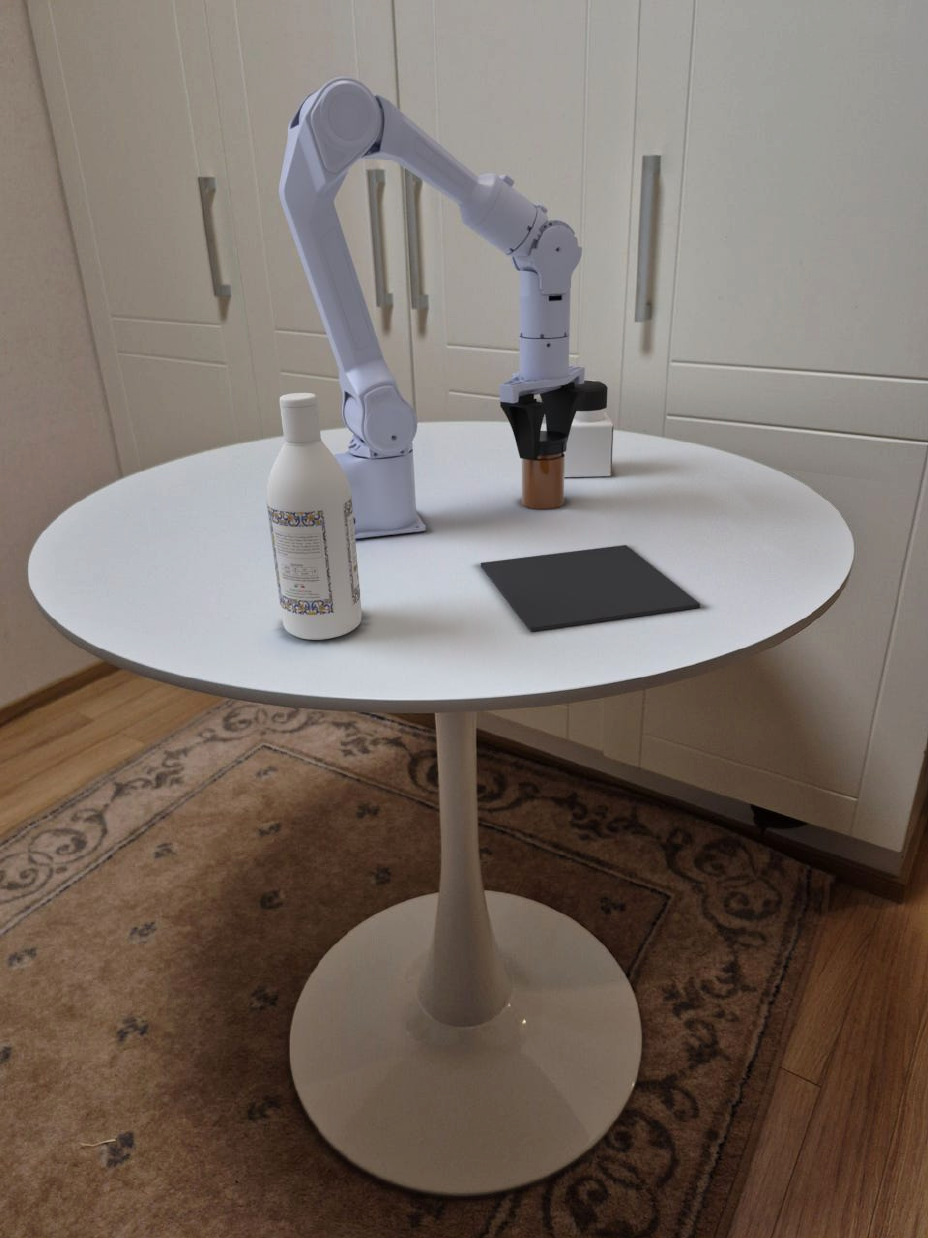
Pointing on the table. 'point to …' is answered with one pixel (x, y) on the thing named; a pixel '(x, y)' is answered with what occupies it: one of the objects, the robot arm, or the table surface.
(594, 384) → the medicine bottle
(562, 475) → the jar
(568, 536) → the table surface
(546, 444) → the jar lid
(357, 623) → the bath foam
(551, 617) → the mat
